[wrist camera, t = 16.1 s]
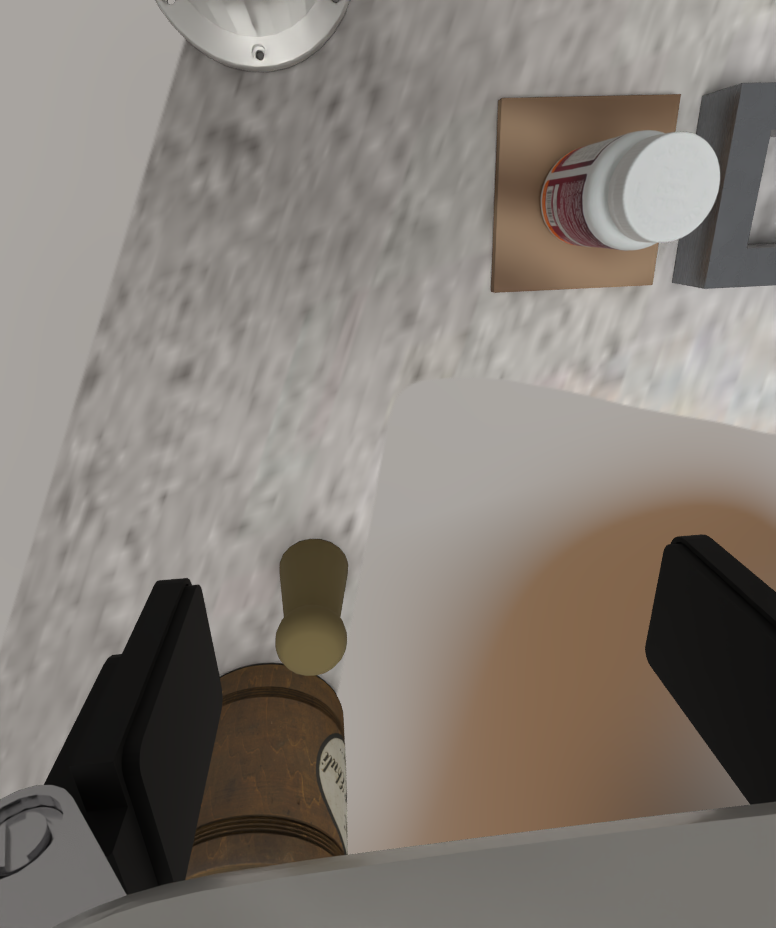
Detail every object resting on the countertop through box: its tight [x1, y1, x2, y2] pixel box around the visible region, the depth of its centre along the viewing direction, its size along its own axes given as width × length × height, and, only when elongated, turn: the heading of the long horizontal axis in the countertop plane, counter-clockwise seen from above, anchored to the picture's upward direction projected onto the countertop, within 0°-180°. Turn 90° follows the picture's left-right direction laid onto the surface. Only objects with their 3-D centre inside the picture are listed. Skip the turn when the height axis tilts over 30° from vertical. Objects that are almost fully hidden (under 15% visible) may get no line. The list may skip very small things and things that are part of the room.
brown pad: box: [491, 94, 681, 293], centre depth 39 cm, size 12×12×1 cm
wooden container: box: [185, 664, 348, 880], centre depth 46 cm, size 15×15×22 cm
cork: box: [275, 539, 348, 676], centre depth 45 cm, size 6×6×11 cm
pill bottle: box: [541, 130, 720, 251], centre depth 34 cm, size 6×6×11 cm
